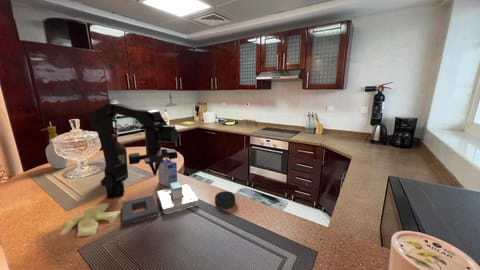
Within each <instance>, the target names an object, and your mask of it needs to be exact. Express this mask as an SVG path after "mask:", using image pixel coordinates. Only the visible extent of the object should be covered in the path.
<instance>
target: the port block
mask: <svg viewBox="0 0 480 270" xmlns="http://www.w3.org/2000/svg"><path fill="white" fill-rule="evenodd" d="M182 189H183V198H181V199H177V200H173V201H172V199H171V191H170V187H168V188H165V189H162V190H157V191H156V192H157V199H158V202H159V205H160V207H161V210H163V211H162V214H163V213H164V214H165V213H168V212H172V211H175V210H179V209H184V208H187V207H190V206H194V205H198V206H199V199H198V197H197V196H196V195H195V193H194V191H192V189H191V187H190V186H189V185H188V184H184V185H182ZM164 214H163V215H164Z"/></svg>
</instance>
